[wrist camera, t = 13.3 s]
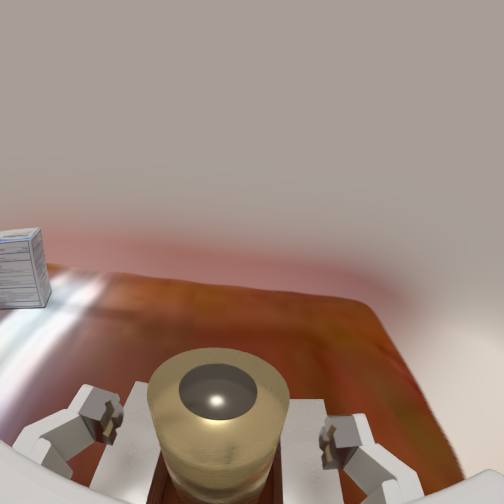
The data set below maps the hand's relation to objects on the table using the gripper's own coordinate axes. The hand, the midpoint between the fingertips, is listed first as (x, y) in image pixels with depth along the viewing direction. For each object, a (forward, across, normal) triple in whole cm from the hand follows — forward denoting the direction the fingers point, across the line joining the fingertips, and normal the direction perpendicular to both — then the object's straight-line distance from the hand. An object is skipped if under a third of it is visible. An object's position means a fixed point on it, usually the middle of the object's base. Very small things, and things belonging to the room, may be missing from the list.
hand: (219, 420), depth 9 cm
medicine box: (+15, +27, +8) cm, 32 cm away
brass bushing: (-1, 0, +8) cm, 8 cm away
